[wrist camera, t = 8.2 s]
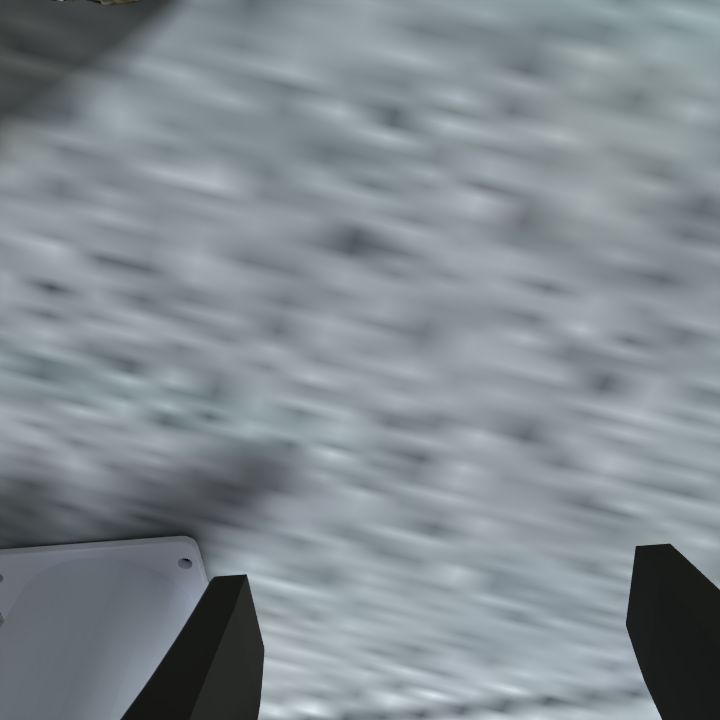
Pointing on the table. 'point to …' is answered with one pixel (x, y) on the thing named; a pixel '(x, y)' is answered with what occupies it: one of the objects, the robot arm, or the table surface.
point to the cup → (108, 1)
